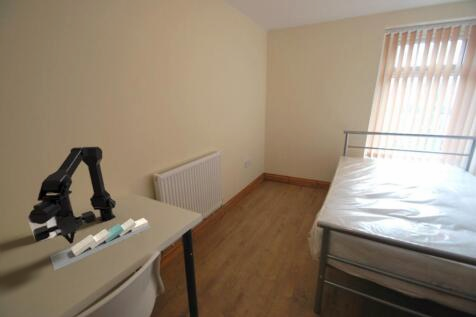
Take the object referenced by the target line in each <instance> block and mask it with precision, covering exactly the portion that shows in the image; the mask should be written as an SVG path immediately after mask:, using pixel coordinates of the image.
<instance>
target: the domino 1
mask: <svg viewBox="0 0 476 317" xmlns="http://www.w3.org/2000/svg"><path fill="white" fill-rule="evenodd" d="M94 243H96V240H95V238H94V235H92V233H90V234H89V235H87V236H86V237H85V238H83V239H82V240H80V241H78V242H77V243H76V244H74V245H73V246H71V247H70V248H71V249H72V251H73V253H74V254H75V255H76V256H78V255H79V254H80V253H82V252H83V251H84V250H86V249H87V248H89V247H90V246H91V245H93V244H94Z"/></svg>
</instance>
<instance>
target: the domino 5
mask: <svg viewBox="0 0 476 317" xmlns="http://www.w3.org/2000/svg"><path fill="white" fill-rule="evenodd" d="M134 222H135V223H136V224H137V225H136V226H134V227H133V228H132V229H130V230H131V231H132V232H133V231H135V230H138V229H140V228H142V227H144V226H147V225H149V221H148V220H147V219H145V217H142V218H140V219H137V220H134Z"/></svg>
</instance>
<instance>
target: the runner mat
mask: <svg viewBox="0 0 476 317" xmlns="http://www.w3.org/2000/svg"><path fill="white" fill-rule="evenodd" d="M151 228H152V227H151V226H150V225H149V224H148V225H147V226H144V227H142V228H140V229H138V230H135V231H133V232H132V231H131V230H129V231H128V232H127V233H125V234H124V235H123V236H120V235H117V236H116V237H115V238H113V239H112V240H110V241H109V242H108V243H107V242H106V241H105V240H104V241H103V242H102V243H100V244H99V245H98V246H96V247H95V248H93V249H91V247H89V248H87V249H86V250H84V251H83V252H82V253H80V254H79V255H78V256H76V255H75V254H74V253H73V251H72V249H71V247H69V248H66V249H63V250H61V251H58V252H57V253H53V254H52V255H49V256H50V260H51V264H52V266H53V270H54V271H57V270H60V269H62V268H64V267H66V266H68V265H71V264H73V263H75V262H77V261H79V260H81V259H84V258H87V257H88V256H91V255H93V254H95V253H97V252H100V251H102V250H104V249H106V248H108V247H111V246H113V245H115V244H117V243H120V242H121V241H124V240H126V239H128V238H130V237H132V236H135V235H137V234H139V233H141V232H145V231H146V230H148V229H151Z"/></svg>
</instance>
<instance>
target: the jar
mask: <svg viewBox="0 0 476 317" xmlns="http://www.w3.org/2000/svg"><path fill="white" fill-rule="evenodd" d="M27 218H28V223H29V224H28V225H29V227H30V229H31V233H32V236H33V238H34V240H35V237H34V233H33V231H34V229H36V228H39V227H42V226H45V225H47V228H50V227H53V226H56V221H55V218H54V217H53V218H51V219H50V220H49V221H47V222H46V223H44V224H37V223H34V222H33V221H32V220H31V219H30V217H29V215H28V217H27ZM49 234H50V236H49V237H48V238H47V239H44V240H41V241H39V242H40V243H41V242H44V241H47V240H50V239H53V238H54V237H56V236H57V235H56V232H55V231H54V232H51V233H49Z"/></svg>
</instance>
